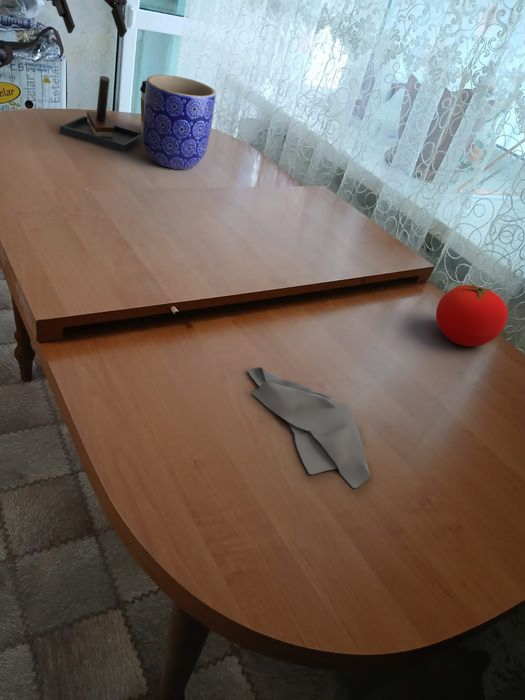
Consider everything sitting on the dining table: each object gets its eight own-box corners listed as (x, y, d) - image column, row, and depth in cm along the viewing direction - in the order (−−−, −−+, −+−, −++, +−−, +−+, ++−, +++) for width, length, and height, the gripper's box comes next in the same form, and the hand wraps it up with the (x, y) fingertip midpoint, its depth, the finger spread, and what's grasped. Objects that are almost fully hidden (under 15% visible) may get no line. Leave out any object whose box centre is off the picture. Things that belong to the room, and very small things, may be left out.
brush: (86, 120, 161) (90, 69, 150) (104, 121, 163) (109, 71, 153) (95, 136, 157) (99, 85, 146) (113, 137, 159) (119, 87, 149)
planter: (195, 180, 148) (206, 101, 136) (130, 163, 148) (135, 82, 136) (212, 160, 163) (223, 87, 150) (153, 144, 163) (159, 70, 151)
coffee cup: (132, 133, 167) (135, 81, 158) (144, 127, 174) (148, 76, 165) (157, 141, 166) (162, 89, 157) (168, 135, 173) (174, 84, 164)
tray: (60, 133, 155) (59, 125, 153) (83, 122, 165) (83, 115, 164) (124, 152, 153) (124, 145, 152) (144, 140, 164) (144, 133, 163)
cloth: (399, 474, 78) (405, 463, 77) (321, 500, 72) (326, 489, 70) (307, 360, 95) (311, 350, 94) (237, 372, 88) (240, 362, 87)
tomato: (495, 364, 107) (524, 317, 100) (427, 345, 107) (451, 296, 100) (486, 330, 117) (512, 285, 110) (424, 312, 117) (446, 266, 110)
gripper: (109, -38, 139) (136, 44, 141) (10, -55, 123) (42, 37, 125) (121, -59, 133) (150, 26, 135) (18, -80, 118) (53, 17, 119)
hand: (98, 32), depth 130 cm, fingers open, 13 cm apart
